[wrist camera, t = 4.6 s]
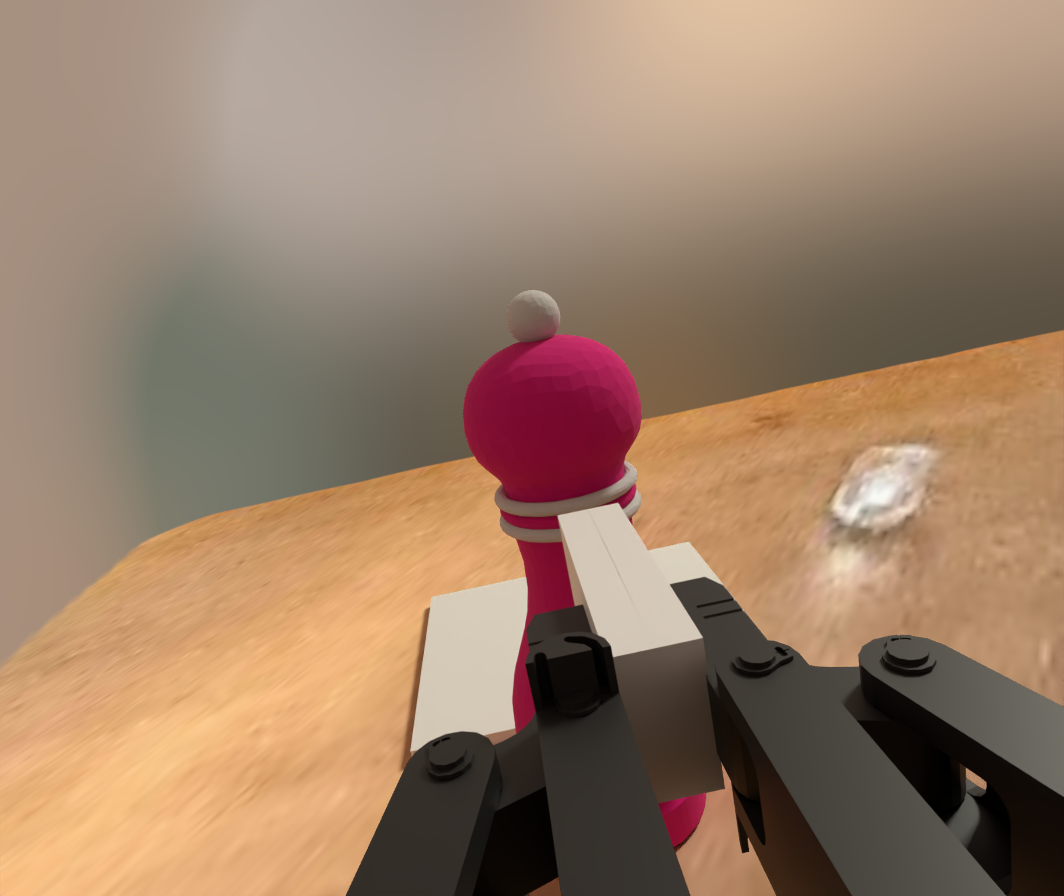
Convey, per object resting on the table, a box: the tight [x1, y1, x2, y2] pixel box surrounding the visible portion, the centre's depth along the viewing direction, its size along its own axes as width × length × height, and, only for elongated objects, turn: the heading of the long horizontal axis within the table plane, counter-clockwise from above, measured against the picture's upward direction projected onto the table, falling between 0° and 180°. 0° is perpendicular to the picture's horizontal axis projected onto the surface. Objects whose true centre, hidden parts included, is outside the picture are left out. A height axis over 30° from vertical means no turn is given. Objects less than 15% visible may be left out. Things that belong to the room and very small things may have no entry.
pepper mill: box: [463, 290, 706, 847], centre depth 25 cm, size 7×7×20 cm
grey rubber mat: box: [410, 542, 766, 756], centre depth 40 cm, size 16×18×1 cm
